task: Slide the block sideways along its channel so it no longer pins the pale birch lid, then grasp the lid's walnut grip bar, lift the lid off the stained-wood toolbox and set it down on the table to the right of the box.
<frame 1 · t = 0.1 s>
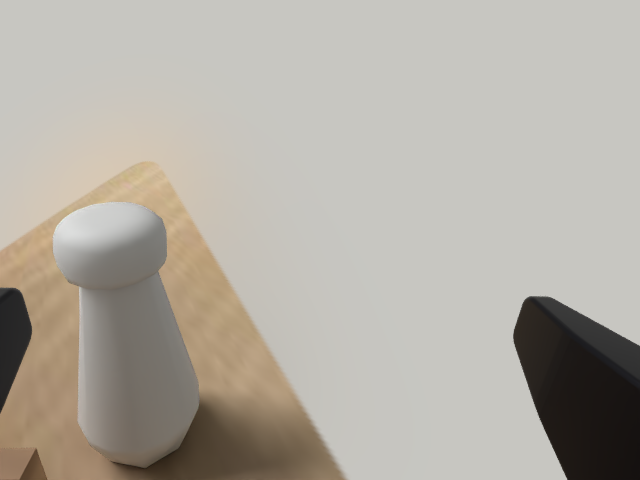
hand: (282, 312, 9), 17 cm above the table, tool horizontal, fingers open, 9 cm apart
salt shaker: (147, 435, 26), on the table
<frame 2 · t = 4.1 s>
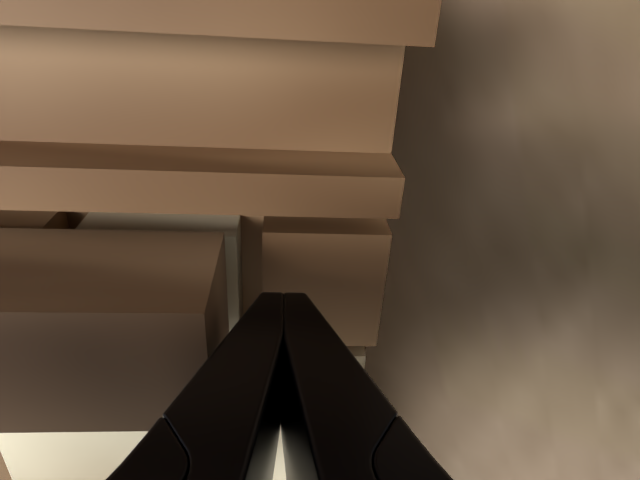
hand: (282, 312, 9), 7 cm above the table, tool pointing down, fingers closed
block: (69, 325, 8), point 7 cm above the table, slide at 1.2 cm, touching gripper
toolbox: (214, 306, 17), on the table
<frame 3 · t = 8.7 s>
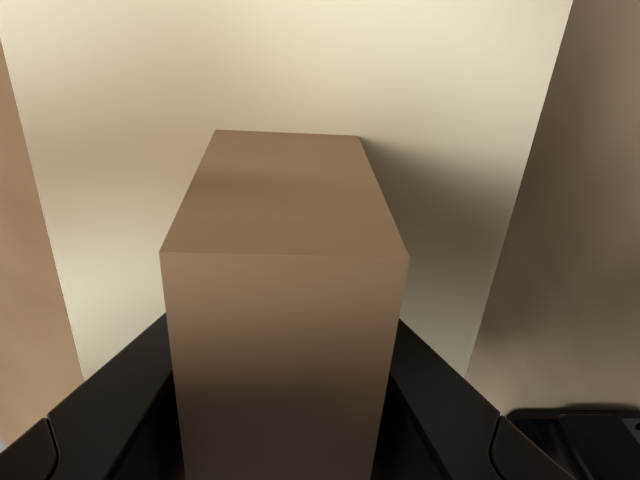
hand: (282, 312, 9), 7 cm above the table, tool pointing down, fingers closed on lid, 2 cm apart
lid: (285, 190, 10), point 5 cm above the table, touching gripper, toolbox
when the fingers open (4 cm above the table, at t = 12.4 s): lid stays where it is, point 1 cm above the table.
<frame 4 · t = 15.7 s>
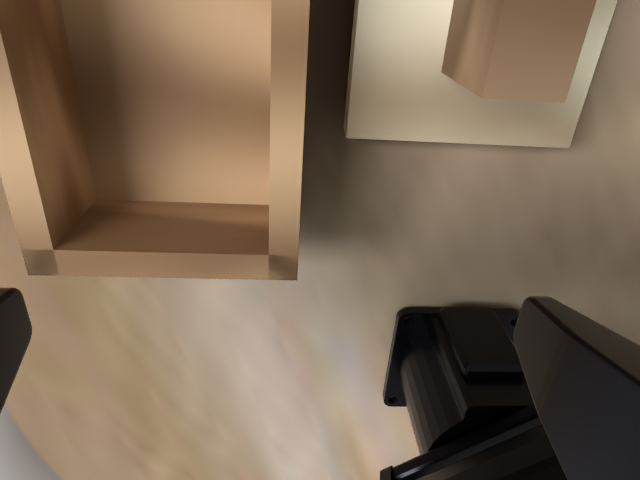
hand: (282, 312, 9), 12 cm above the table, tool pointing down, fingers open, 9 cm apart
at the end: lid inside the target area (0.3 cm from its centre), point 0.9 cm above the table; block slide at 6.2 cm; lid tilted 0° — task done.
